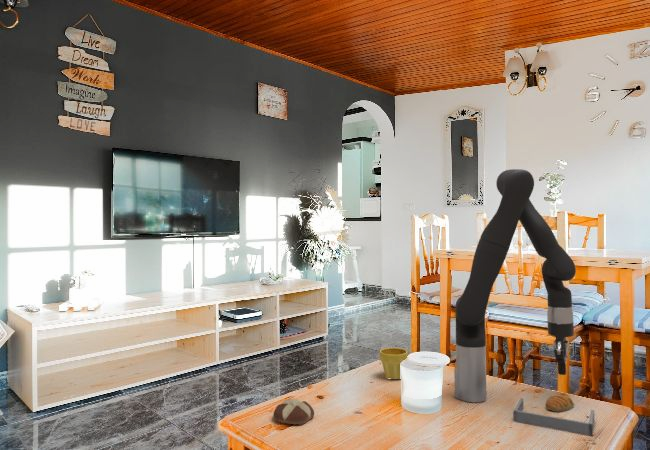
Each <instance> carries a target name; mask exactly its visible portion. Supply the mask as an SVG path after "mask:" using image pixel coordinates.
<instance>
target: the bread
mask: <svg viewBox="0 0 650 450" xmlns="http://www.w3.org/2000/svg"><path fill="white" fill-rule="evenodd" d="M272 416H273V419H274V420H275V421H276V422H277V421H278V423H280V422H281V424H285V423H287V424H286V425H290V424H294V425H293V426H296V425H295V424H302V425H304V424H305V423H307V422H309V421H311V420H312V419H313V418H314V417H315V411H314V408H313V406H311V405H310V403H308V402H307V401H305V400H303V401H302V400H301V401H300V400H299V399H298V398H288V399H285V400H284V401H282V402H281V403H280V404H277V405H276V407H275V409H274V411H273V414H272ZM308 420H309V421H308Z"/></svg>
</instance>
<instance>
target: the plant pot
mask: <svg viewBox="0 0 650 450" xmlns="http://www.w3.org/2000/svg"><path fill="white" fill-rule="evenodd" d="M407 356H408V357H409V352H408V350H407V349H405V348H402V347H386V348H381V349H380V350H379V360H380V362H381V363H382V367H383V368H382V369H383V373H384V377H385V376H386V377H387V378H391V379H400V363H401V362H402V361H403V360H405V359H406V358H407ZM386 377H385V378H386ZM387 378H386V379H387ZM400 380H401V379H400Z"/></svg>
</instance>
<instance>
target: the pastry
mask: <svg viewBox="0 0 650 450" xmlns="http://www.w3.org/2000/svg"><path fill="white" fill-rule="evenodd" d="M575 405H576V404H575V402H574V400H573V399H572V397H571V396H570V395H569V393H566V392H557V393H555V394H552V395H550V396H549V397H548V398H547V399H546V402H545V407H546V410H550V411H554V412H558V413H560V412H567V411H568V410H571V409H573V408H574V406H575Z"/></svg>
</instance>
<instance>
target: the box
mask: <svg viewBox="0 0 650 450" xmlns="http://www.w3.org/2000/svg"><path fill="white" fill-rule="evenodd" d="M523 410H524V398H519V400H518V401H517V403H516V405H515V407H514V409H513V412H512V413H513V422H516V423H523V424H527V425H533V426H537V427H544V428H548V429H552V430H556V431H557V430H558V431H563V432H568V433H574V434H579V435H583V436H584V435H585V436H589V437H592V436H593V433H594V427H595V409H590V413H589V418H588V419H589V420H588V422H585V421H578V420H574V419H569V418H563V417H556V416H551V415H545V414H540V413H535V412H529V411H523Z"/></svg>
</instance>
